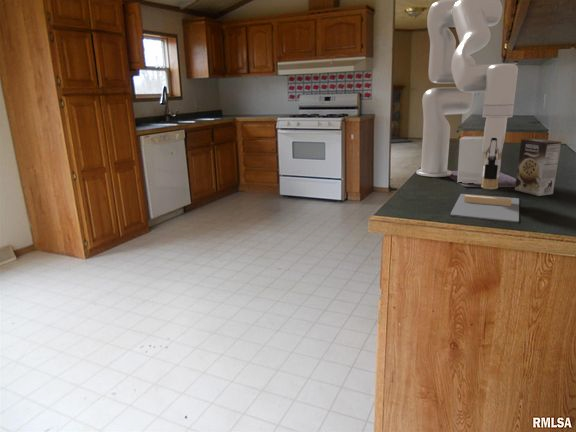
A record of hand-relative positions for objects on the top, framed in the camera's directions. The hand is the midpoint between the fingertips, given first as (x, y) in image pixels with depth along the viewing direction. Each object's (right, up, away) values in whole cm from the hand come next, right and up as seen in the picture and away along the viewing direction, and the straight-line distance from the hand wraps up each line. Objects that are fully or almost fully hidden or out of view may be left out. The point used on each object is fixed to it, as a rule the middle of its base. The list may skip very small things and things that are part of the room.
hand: (490, 176), depth 124 cm
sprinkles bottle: (0, -3, +1) cm, 4 cm away
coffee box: (+19, -4, +12) cm, 23 cm away
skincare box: (+6, 0, +27) cm, 28 cm away
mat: (-3, -9, -3) cm, 10 cm away
